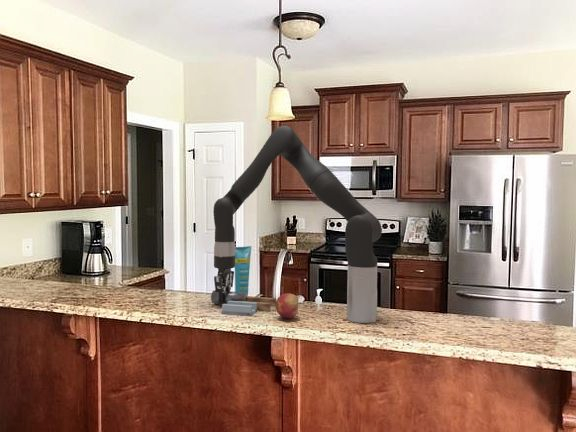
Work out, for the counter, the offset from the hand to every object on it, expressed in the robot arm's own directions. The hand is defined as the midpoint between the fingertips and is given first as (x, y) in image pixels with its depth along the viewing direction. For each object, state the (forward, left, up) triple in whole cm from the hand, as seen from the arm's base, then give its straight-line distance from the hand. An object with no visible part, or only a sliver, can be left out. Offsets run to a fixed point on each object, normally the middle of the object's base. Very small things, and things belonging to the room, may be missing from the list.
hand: (224, 301), depth 167 cm
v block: (-9, +9, -1) cm, 13 cm away
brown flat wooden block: (-12, 0, -1) cm, 12 cm away
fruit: (-26, +12, -1) cm, 29 cm away
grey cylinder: (-2, 0, +1) cm, 2 cm away
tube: (-1, -17, -1) cm, 17 cm away
